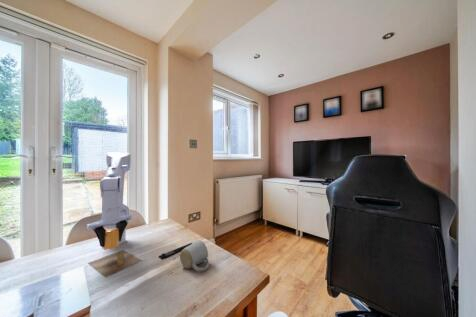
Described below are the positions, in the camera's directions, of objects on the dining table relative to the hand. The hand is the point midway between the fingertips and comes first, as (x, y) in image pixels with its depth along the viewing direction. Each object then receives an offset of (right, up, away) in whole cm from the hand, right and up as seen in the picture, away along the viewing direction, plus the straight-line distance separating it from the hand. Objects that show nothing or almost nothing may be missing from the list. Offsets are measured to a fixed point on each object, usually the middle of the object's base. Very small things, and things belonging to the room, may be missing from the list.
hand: (110, 243), depth 70 cm
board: (+3, -7, -2) cm, 8 cm away
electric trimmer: (+23, -8, +5) cm, 25 cm away
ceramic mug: (+34, -8, -2) cm, 34 cm away
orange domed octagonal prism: (0, -1, 0) cm, 1 cm away
